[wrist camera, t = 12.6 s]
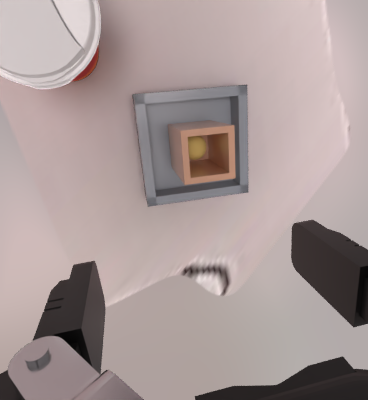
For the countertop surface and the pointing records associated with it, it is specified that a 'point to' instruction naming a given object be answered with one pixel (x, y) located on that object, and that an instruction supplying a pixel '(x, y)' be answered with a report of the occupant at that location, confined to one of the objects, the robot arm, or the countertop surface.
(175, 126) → the light brown open box
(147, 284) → the countertop surface
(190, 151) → the mustard ball
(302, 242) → the robot arm
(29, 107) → the countertop surface
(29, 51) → the coffee cup
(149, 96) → the tray
